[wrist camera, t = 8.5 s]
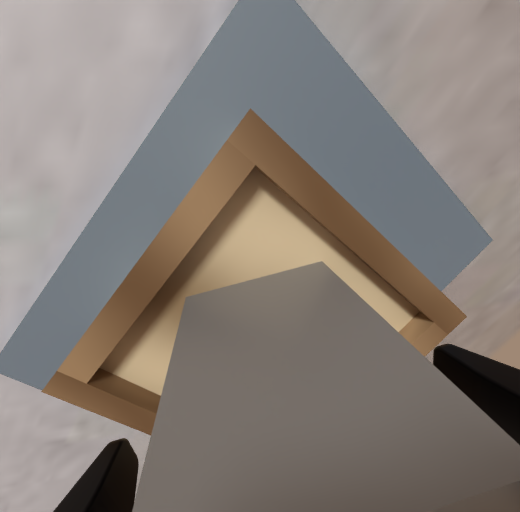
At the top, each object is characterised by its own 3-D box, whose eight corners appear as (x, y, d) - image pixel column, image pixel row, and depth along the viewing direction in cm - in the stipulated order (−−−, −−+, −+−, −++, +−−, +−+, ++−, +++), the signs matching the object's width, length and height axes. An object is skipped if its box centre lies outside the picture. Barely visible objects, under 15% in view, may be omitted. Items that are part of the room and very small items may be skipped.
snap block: (321, 260, 10) (657, 574, 2) (337, 367, 11) (555, 737, 4) (185, 296, 9) (61, 796, 2) (223, 400, 11) (231, 868, 4)
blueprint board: (260, -22, 10) (264, -37, 9) (478, 236, 15) (492, 240, 14) (2, 357, 13) (-11, 369, 12) (253, 462, 18) (255, 475, 17)
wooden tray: (239, 127, 10) (250, 107, 7) (403, 278, 14) (466, 316, 10) (93, 326, 12) (41, 391, 9) (270, 415, 16) (285, 488, 12)
